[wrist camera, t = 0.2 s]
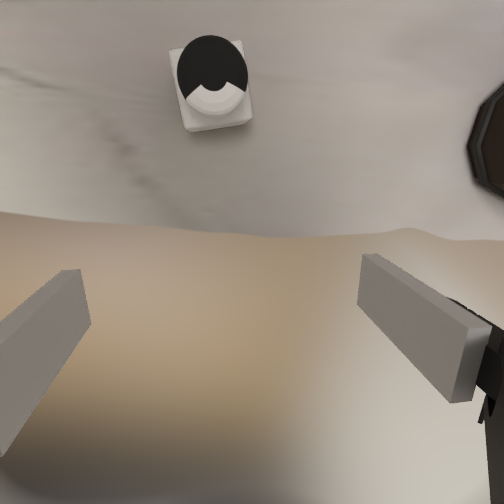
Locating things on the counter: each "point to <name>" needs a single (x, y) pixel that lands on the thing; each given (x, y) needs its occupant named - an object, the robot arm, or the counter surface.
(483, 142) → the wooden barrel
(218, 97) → the medicine bottle
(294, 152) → the counter surface
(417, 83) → the counter surface
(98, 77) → the counter surface
